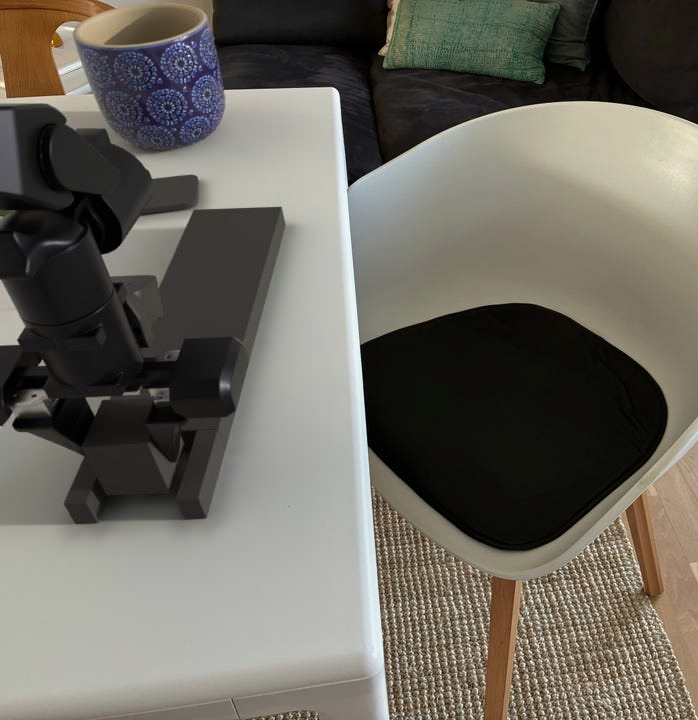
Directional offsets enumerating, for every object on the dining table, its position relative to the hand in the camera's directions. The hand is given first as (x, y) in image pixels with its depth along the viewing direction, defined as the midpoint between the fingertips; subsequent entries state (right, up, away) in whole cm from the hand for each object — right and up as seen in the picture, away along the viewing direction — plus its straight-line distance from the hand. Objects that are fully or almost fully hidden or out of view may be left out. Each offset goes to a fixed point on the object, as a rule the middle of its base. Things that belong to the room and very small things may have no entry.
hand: (141, 459), depth 60 cm
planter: (-17, +39, +49) cm, 65 cm away
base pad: (-1, +9, +15) cm, 18 cm away
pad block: (0, -1, +1) cm, 1 cm away
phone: (-16, +27, +35) cm, 47 cm away
